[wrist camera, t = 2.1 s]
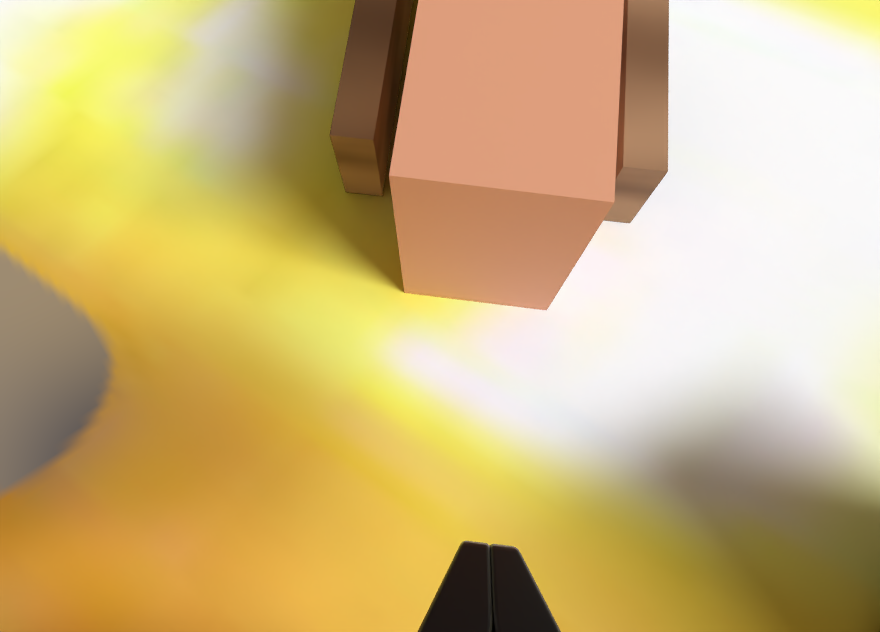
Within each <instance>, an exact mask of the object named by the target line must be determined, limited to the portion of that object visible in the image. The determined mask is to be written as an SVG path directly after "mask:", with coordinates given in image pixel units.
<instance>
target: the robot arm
mask: <svg viewBox="0 0 880 632" xmlns="http://www.w3.org/2000/svg"><path fill="white" fill-rule="evenodd" d="M418 632H561V631H560V629H559V627H558V625H557V623H556V621H555V619H554V618H553V616H552V614H551V612H550V610H549V608H548V606H547V604H546V602H545V600H544V598H543V596H542V594H541V592H540V590H539V588H538V586H537V584H536V582H535V580H534V578H533V576H532V575H531V573H530V571H529V569H528V567H527V565H526V563H525V561H524V559H523V557H522V555H521V553H520V552H519V550H518V549H517V548H516V547H513V546H506V545H498V544H492V545H490V546H489V545H488V544H487V543H481V542H472V541H464V542H462V543H461V545H460V546H459V548H458V550H457V552H456V554H455V557H454V559H453V561H452V563H451V565H450V567H449V569H448V571H447V573H446V575H445V577H444V579H443V581H442V583H441V585H440V587H439V589H438V591H437V593H436V595H435V597H434V599H433V601H432V603H431V605H430V608H429V610H428V612H427V614H426V616H425V618H424V620H423V622H422V624H421V626H420V628H419V630H418Z"/></svg>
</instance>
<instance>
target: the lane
mask: <svg viewBox="0 0 880 632" xmlns="http://www.w3.org/2000/svg"><path fill="white" fill-rule="evenodd" d="M412 5H413V0H355V5H354V11H353V16H352V21H351V26H350V32H349V37H348V42H347V47H346V52H345V58H344V63H343V68H342V73H341V79H340V84H339V89H338V94H337V99H336V105H335V110H334V115H333V120H332V126H331V131H330V138H331V142H332V145H333V149H334V152H335V156H336V159H337V163H338V166H339V170H340V173H341V177H342V180H343V184H344V188H345V191H346V192H351V193H360V194H369V195H378V196H383V190H384V184H385V177H386V171H387V164H388V158H389V152H390V145H391V139H392V133H393V126H394V120H395V114H396V107H397V101H398V94H399V88H400V82H401V75H402V69H403V63H404V56H405V50H406V44H407V37H408V31H409V24H410V18H411V12H412ZM668 37H669V0H624V8H623V30H622V51H621V72H620V94H619V115H618V136H617V158H616V179H615V200H614V204H613V205H612V207H611V209H610V210H609V212H608V213H607V215H606V217H605V218H604V220H606V221H615V222H625V223H630V222H631V221H632V220H633V218H634V217H635V216H636V214H637V213H638V212H639V210H640V209H641V207H642V206H643V205H644V203H645V202H646V201H647V199H648V198H649V196H650V195H651V194H652V192H653V191H654V190H655V188H656V187H657V186H658V184H659V183H660V181H661V180H662V179H663V177H664V176H665V175H666V173H667V172H668Z"/></svg>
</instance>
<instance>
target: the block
mask: <svg viewBox="0 0 880 632" xmlns="http://www.w3.org/2000/svg"><path fill="white" fill-rule="evenodd" d="M623 8H624V0H418V6H417V12H416V18H415V24H414V30H413V36H412V42H411V47H410V53H409V59H408V65H407V71H406V77H405V83H404V89H403V95H402V101H401V107H400V113H399V119H398V125H397V131H396V137H395V143H394V148H393V154H392V160H391V166H390V172H389V180H390V187H391V195H392V202H393V210H394V217H395V225H396V233H397V240H398V248H399V255H400V263H401V270H402V278H403V286H404V293H411V294H419V295H427V296H435V297H443V298H451V299H459V300H467V301H475V302H484V303H492V304H500V305H508V306H516V307H524V308H532V309H540V310H547V309H548V307H549V306H550V304H551V302H552V301H553V299H554V298H555V296H556V295H557V293H558V291H559V290H560V288H561V287H562V285H563V283H564V282H565V280H566V279H567V277H568V275H569V274H570V272H571V271H572V269H573V267H574V266H575V264H576V263H577V261H578V260H579V258H580V256H581V255H582V253H583V252H584V250H585V248H586V247H587V245H588V244H589V242H590V240H591V239H592V237H593V236H594V234H595V232H596V231H597V229H598V228H599V226H600V225H601V223H602V221H603V220H604V218H605V217H606V215H607V213H608V212H609V210H610V209H611V207H612V205H613V204H614V200H615V179H616V158H617V136H618V115H619V94H620V72H621V51H622V30H623Z"/></svg>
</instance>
